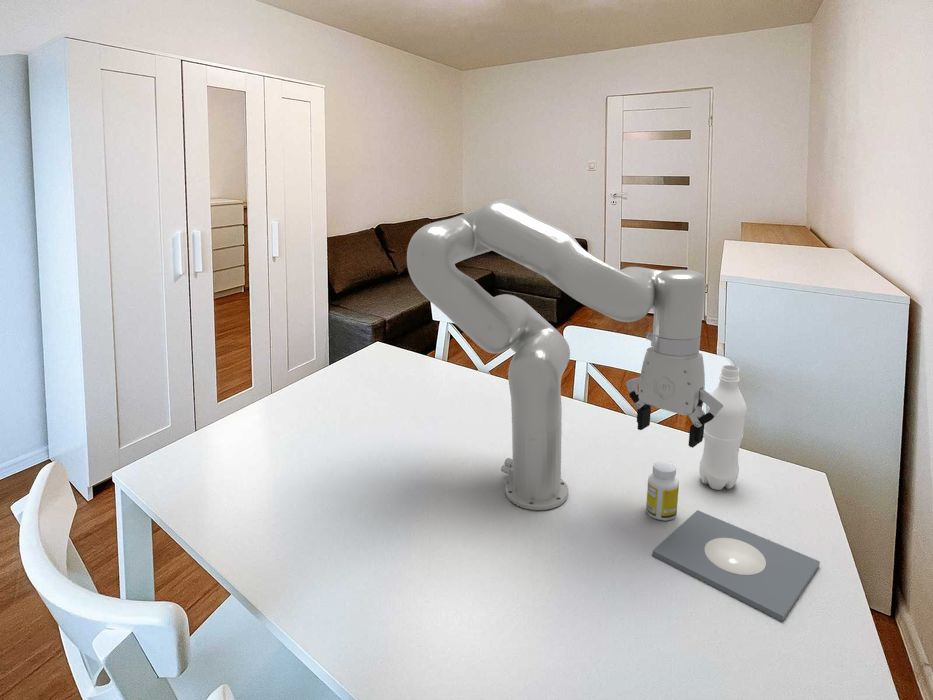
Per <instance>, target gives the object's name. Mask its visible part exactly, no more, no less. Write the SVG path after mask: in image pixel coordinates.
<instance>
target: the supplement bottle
mask: <svg viewBox="0 0 933 700" xmlns="http://www.w3.org/2000/svg"><path fill="white" fill-rule="evenodd" d="M676 475H677V466H676V465H675V464H674V463H671V462H670V461H669V462H668V461H664V460H661V461H656V462H654V463H653V465H652V472H651V473H650V474H649V476H648V480H647V491H646V505H645V506H646V507H645V511H646V513H647V514H648V516H650V517H651V518H653V519H655V520H659V521H671V520H674V519H675V517H676V516H677V511H678V502H679V491H680V490H679V487H680V481H679V478H678V477H677V476H676Z"/></svg>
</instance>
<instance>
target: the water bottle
mask: <svg viewBox="0 0 933 700" xmlns="http://www.w3.org/2000/svg"><path fill="white" fill-rule="evenodd" d="M739 374H740V367H738V366H737V365H732V364H725V365H722V366H721V373H720V376H719V377H718V379H719V383H718V385H717V387H716V388H715V389H714V390H713V392H712V393H711V394H710V395H711V396H712V397H714V398H715V399H716V400H718V401H719V402H720V403H721V404H722V405H723V408H722V409H721V411H720V412H719V413H718V414H717V415H716V417H715V418H713V419H712V420H711V421H709V422H707V423H705V425H704V435H703V439H704V440H703V443H704V447H703V453H702V456H701V460H700V462H699V467H698V468H699V470H698V471H699V476H700V480H701V481H702V483H703V484H705V485H707V484H708V485H709V487H710V489H713V490H717V491H720V490H723V488H726V489H727V490H729V489H732V488H733V487H734V486H735V484H736V483H737V481H738V478H739V472H740V466H739V452H740V446H741V443H742V440H743V437H744V429H745V420H746V414H747V404H746V400H745V399H744V396H743V394H742V392H741V390H740V387H739V382H740V381H741V379H740V375H739ZM709 410H710V408H709V406H708V405H706V404H705V414H707V413H708V412H709Z"/></svg>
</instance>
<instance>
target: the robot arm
mask: <svg viewBox="0 0 933 700" xmlns="http://www.w3.org/2000/svg"><path fill="white" fill-rule="evenodd" d="M410 238H411V239H410V241H409V243H408V245H407V252H406V266H407V270H408V274H409V277H410V279H411V281H412V283H413V285H414V286H415V287H416V289H417V290H418V291H419V292H420V293H421V295H422V296H424V297H425V298H426V300H428V301H429V302H430V303H432V304H433V305H434V306H435V307H436V308H437V309H438V310H439V311H441V312H442V313H443V314H444V315H445V316H447V318H448V319H449V320H450V321H451V322H452V323H454V325H456V327H458V328H459V329H460V330H461V331H462V332H463V333H464V334H465V335H466V336H468V338H470V339H471V340H472V341H473V343H475V344H476V345H477V346H479V347H480V348H481V349H482V350H483V351H484V352H487V353H488V354H489V353H490V354H495V355H496V354H501V353H504V352H506V351H507V350H509V349H511V350H512V351H513V352H514V355H513V356H512V358H511V360H510V363H509V367H508V375H507V378H508V386H509V388H508V389H509V394H510V403H511V404H510V406H511V423H512V424H511V432H512V433H511V436H512V437H511V438H512V443H511V445H512V446H511V448H512V449H511V450H512V458H510V457H507V458H505V460H504V464H503V465H502V466H501V467H500V471H501V472H502V473H504V474H507V475H508V481H507V482H506V484H505V488H504V489H505V490H504V491H505V496H506V498H507V499H508V500H509V501H510V502H511V501H512V502H513V503H514V504H513V503H512V502H511V503H512V504H513V505H515V504H516V505H515V506H517V507H519V506H520V507H519V508H522V509H525V510H531V511H544V510H545V511H546V510H551V509H554V508H557V507H559V506H561V505H562V504H564V502H566V501H567V500H568V496H569V487H568V485H567V483H566V481H564V480H563V479H562V478H561V477H562V475H561V474H562V434H563V433H562V432H563V431H562V425H563V424H562V415H563V413H562V412H563V411H562V410H563V409H562V393H561V391H562V390H561V388H562V387H561V386H562V385H561V383H562V377H563V375H564V373H565V370H566V368H567V367H568V365H569V361H570V358H571V349H570V346H569V343H568V341H567V339H566V338H565V337H564V336H563V334H561V333H560V331H558V330H557V329H556V328H555V327H554V326H553V325H552V324H551V323H549V321H548V320H547V319H545V318H544V317H543V316H542V315H541V314H540V313H538V311H536V310H535V309H534V308H533V307H532V306H531V305H529V304H528V302H526V300H524V299H522V298H520V297H518V296H516V295H512V294H509V293H508V294H507V293H506V294H505V293H503V294H499V295H496V296H492V295H491V294H490V293H489V292H488V291H486V290H485V289H484V288H483V287H482V286H481V285H480V284H479V283H478V282H477V281H475V280H474V279H473V278H472V277H471V276H469V275H467V274H466V273H463V271H461V270H460V269H458V268H457V267H456V264H457V263H459V262H462V261H464V260H468V259H470V258H473V257H476V256H479V255H482V254H485V253H489V252H492V251H493V252H495V253H497V254H499V255H501V256H502V257H505V258H506V259H509V260H510V261H513V262H515V263H516V264H518V265H521V266H524V267H525V268H527V269H528V270H531V271H532V272H534V273H536V274H538V275H540V276H542V277H544V278H546V279H547V280H548V281H549V282H551V284H552V285H554V286H555V287H557V288H559V290H561V291H562V292H563V293H565V294H566V295H568V296H569V297H571V298H572V299H573V300H575V301H576V302H579V303H580V304H582V305H584V306H586V307H588V308H590V309H592V310H594V311H596V312H598V313H600V314H602V315H603V316H606V317H608V318H609V319H613V320H615V321H618V322H622V323H631V322H636V321H639V320H641V319H643V318H645V316H647V314H648V313H649V312H650V311H651V309H652V310H653V321H652V322H653V325H652V332H649V331H648V332H646V334H645V339H646V340H647V341H650V346H651V347H648V348H647V349H646V350H645V353H644V358H643V362H642V366H641V372H640V376H638V377H635V378H631V379H629V380H627V381H625V386H626V388H627V391H628V392H629V393H628V394H629V397H630V398H631V400H632V402H633V403H634V408H635V409H637V413H636V423H637V430H638V431H642V430H645V429H646V428H647V427H649V426H650V425H651V424H650V423H651V413H652V412H651V411H652V407H654V408H657V409H659V410H662V411H663V410H664V411H667V412H671V413H674V414H679V415H682V416H688V418H689V419H690V421H691V422H692V425H690V428H689V433H688V434H689V435H688V443H687V444H688V447H689V448H694V447H697V445H699V444H701V443H702V442H703V441H704V440H703V439H704V426H705V423H707V422H709V421H711V420H712V419H713V418H715V417H716V415H717V414H718V413H719V412H720V411H721V409H722V408H723V405H722V404H721V403H720V402H719V401H718V400H716V399H715V398H714V397H712V396H711V394H710V393H708V391H706V390H705V388H706V387H705V386H706V384H705V381H706V380H705V376H706V375H705V363H704V358H703V353H700V345H701V333H702V324H703V323H702V321H703V312H704V304H705V303H704V301H705V293H706V292H705V290H706V278H705V276H704V274H703V273H701V272H699V271H696V270H693V269H692V270H691V269H668V270H661V269H652V268H648V267H647V268H646V267H641V266H628V267H624V268H622V269H617V268H616V267H615V266H612V265H610V264H608V263H606V262H604V261H602V260H600V259H598V258H597V257H595V256H593V255H592V254H591V253H590V252H588V251H587V250H586V249H584V248H583V247H582V246H581V244H580V243H579V242H578V241H577V240H576V238H575V237H574V235H572V234H571V233H570V232H568V231H566V230H564V229H563V228H560V227H558V226H556V225H554V224H552V223H550V222H548V221H546V220H544V219H542V218H539V217H537V216H535V215H533V214H531V213H530V212H529V210H528V209H527V207H526V206H525V205H524V204H523V203H522V202H520V201H519V200H516V199H514V198H506V197H505V198H500V199H495V200H490V201H488V202H485V204H483V205H482V206H481V207H480V208H477V209H475V210H472V211H469V212H466V213H463V214H459V215H457V216H454V217H451V218H447V219H442V220H437V221H434V222H431V223H427V224H425V225H423V226H421V228H419V229H417V231H416V232H415V233H414V234H413V235H412V236H411V237H410ZM704 404H705V406H706V405H708V406H709V408H710V410H709V412H708V413H707V414H706V412H705V411H704V410H703V408H702V407H703V405H704Z"/></svg>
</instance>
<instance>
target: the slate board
mask: <svg viewBox="0 0 933 700" xmlns="http://www.w3.org/2000/svg"><path fill="white" fill-rule="evenodd" d="M651 556H653V557H654V558H656V559H658V560H660V561H662V562H664V563H666V564H668V565H669V566H672V567H673V568H676V569H678V570H680V571H682V572H684V573H686V574H687V575H689V576H691V577H694V578H696V579H698V580H700V581H701V582H703V583H704V584H707V585H709V586H711V587H713V588H715V589H717V590H719V591H720V592H723V593H724V594H727V595H729V596H730V597H733V598H735V599H736V600H738V601H741V602H742V603H745V604H746V605H749V606H750V607H752V608H754V609H756V610H758V611H760V612H762V613H763V614H766V615H768V616H769V617H772V618H774V619H775V620H778V621H779V622H781V623H783V622H784V620H785V618H786V617H787V616H788V614H789V613H790V611H791V610H792V609H793V607H794V605H795V604H796V602H797V601H798V600H799V597H800V596H801V595H802V594H803V592H804V590H805V589H806V587H807V586H808V584H809V583H810V581H811V580H812V578H813V576H815V574H816V572H817V571H818V570H819V568H820V566H821V561H820V560H818V559H815V558H813V557H810V556H808V555H806V554H803V553H801V552H798V551H796V550H793V549H791V548H788V547H786V546H784V545H781V544H779V543H777V542H774V541H773V540H770V539H768V538H765V537H763V536H761V535H758V534H755V533H752V532H751V531H748V530H747V529H743V528H741V527H738V526H736V525H734V524H731V523H730V522H727V521H725V520H722V519H720V518H717V517H715V516H714V515H713V516H712V515H710V514H708V513H705V512H703V511H700V510H698V509H697V510H696V511H695V512H693V514H691V515H690V516H689V517H688V518H687V519H685V521H684V522H682V523H681V524H680V525H679V526H678V527H677V528H676V529H675V530H674V531H672V532H671V533H670V534H669V535H668V536H667V537H666V538H665V539H663V541H662V542H660V543H659V544H658V545H657V546H655V547H654V548H653V550H652V554H651Z"/></svg>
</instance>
